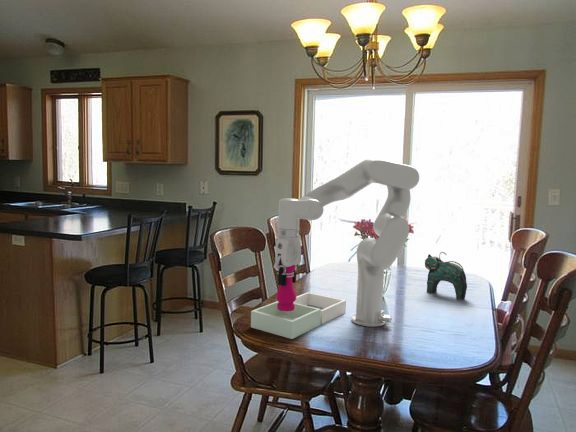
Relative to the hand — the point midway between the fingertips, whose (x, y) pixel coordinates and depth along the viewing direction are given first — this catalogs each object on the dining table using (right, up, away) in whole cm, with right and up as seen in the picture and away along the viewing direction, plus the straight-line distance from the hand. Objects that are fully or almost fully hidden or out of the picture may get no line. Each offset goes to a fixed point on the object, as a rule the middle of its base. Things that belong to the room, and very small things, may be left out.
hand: (286, 283), depth 167 cm
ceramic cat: (+73, -13, +49) cm, 89 cm away
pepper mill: (0, -10, +1) cm, 10 cm away
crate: (+11, -14, +17) cm, 25 cm away
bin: (0, -16, +2) cm, 16 cm away
